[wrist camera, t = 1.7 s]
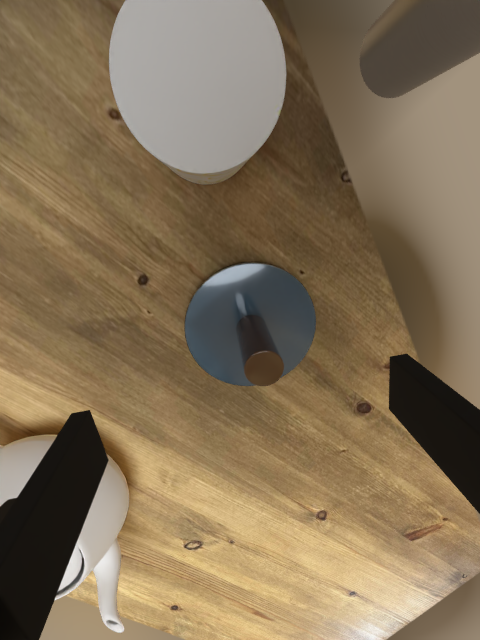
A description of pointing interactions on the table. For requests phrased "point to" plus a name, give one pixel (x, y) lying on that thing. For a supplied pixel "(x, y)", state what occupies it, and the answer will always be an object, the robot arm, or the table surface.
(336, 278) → the table surface
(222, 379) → the canister lid
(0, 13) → the table surface
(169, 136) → the white cylinder
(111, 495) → the teapot
